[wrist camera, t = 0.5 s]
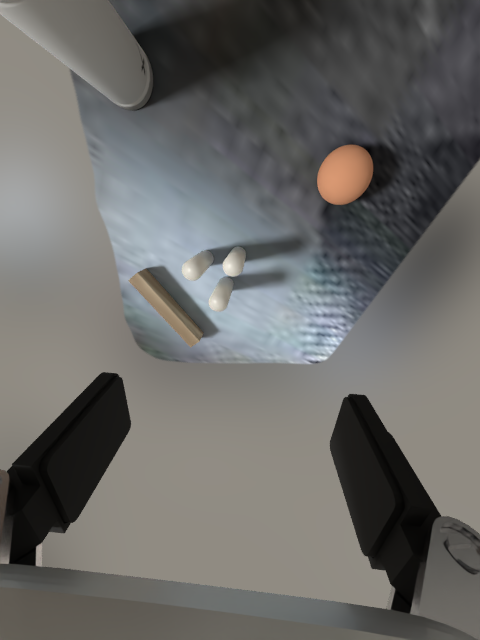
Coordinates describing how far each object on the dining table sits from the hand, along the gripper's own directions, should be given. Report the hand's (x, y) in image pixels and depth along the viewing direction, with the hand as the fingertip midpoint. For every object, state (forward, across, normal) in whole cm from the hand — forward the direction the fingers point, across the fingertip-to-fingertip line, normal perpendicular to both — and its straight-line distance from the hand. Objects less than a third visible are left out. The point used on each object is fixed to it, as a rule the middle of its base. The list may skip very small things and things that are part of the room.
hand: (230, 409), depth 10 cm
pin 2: (+28, +4, +3) cm, 29 cm away
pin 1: (+28, +7, -1) cm, 29 cm away
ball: (+25, -10, -12) cm, 30 cm away
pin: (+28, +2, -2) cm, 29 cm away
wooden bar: (+28, +13, +7) cm, 32 cm away
